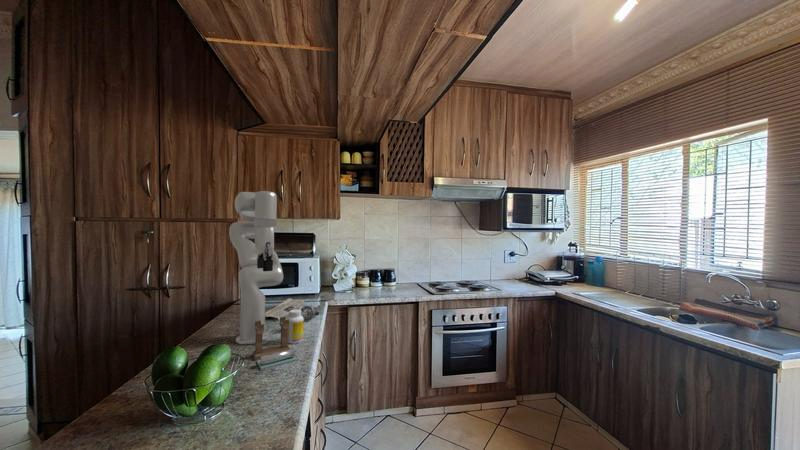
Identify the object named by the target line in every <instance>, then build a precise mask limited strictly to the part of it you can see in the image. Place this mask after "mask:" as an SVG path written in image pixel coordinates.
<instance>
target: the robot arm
mask: <svg viewBox="0 0 800 450" xmlns="http://www.w3.org/2000/svg"><path fill="white" fill-rule="evenodd" d="M277 198H278V196H277V194H276V193H275V192H274V191H266V190H265V191H264V190H260V191H257V192H253V191H240V192H239V193H238V194H237V195H236V197H235V200H234V209H235V211H236V212H237V214H238V216H239V217H240V219H242V220H245V221H236V222H232V223H231V224H230V226H229V230H228V234H229V240H230V243H231V244H232V246H233V247H234V249H235V250H236V253H237V257H238V261H239V265H240V268H241V269H240V270H239V272H238V282H239V289H240V312H239V313H240V316H239V317H240V318H239V319H240V320H239V321H240V322H239V323H240V324H239V335H237V336H236V337H235V343H237V344H239V345H252V344H254V345H255V340H256V331H255V321H261V324H264V333H263V341H266V340H268V338H269V335H270V334H269V333H268V332H267V331H266V319H265V312H266V296H265V294H264V292H263V291H261V289H260V288H263V287H273V286H278V285H280V284H282V282H283V280H284V272H283V267H282V264H281V262H280V260H279V255H278V254H277V252H276V251H275V232H274V231H275V229H277V207H278V206H277V204H278V201H277V200H278V199H277ZM251 239H255V240H254V242H253V241H252V240H251Z"/></svg>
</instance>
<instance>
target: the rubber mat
mask: <svg viewBox="0 0 800 450" xmlns="http://www.w3.org/2000/svg"><path fill="white" fill-rule="evenodd" d="M297 361H298V358H297V357H296V356H295V357H292V358H288V359H284V360H280V361H277V362H273V363H269V364H265V365H261V363H260V360H257V361H256V363H257V365H258V367H259V369H260V371H264V370H267V369H271V368H274V367H278V366H281V365H285V364H289V363H292V362H297Z"/></svg>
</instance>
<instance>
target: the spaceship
mask: <svg viewBox="0 0 800 450" xmlns="http://www.w3.org/2000/svg"><path fill="white" fill-rule="evenodd" d="M300 310H301V316H302V317H303V319H304V322H310V321H312V320H313V319H314V318H316V314H317V313H322V312H323V308H322V305H320V304H318V305H317V306H313V305H312V304H311V305H310V304H309V305H305V306H304V305H303V306H302V307H301V309H300Z"/></svg>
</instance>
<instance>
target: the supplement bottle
mask: <svg viewBox="0 0 800 450" xmlns="http://www.w3.org/2000/svg"><path fill="white" fill-rule="evenodd" d="M288 319H289V328H288V336H287V344H293V345H294V344H299V343H301V342H303V340H304V322H305V321H304V319H303V317H302V316H301V309H299V308H297V309H296V310H291V311H290V314H289V316H288V317H287V319H286V320H288Z"/></svg>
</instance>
